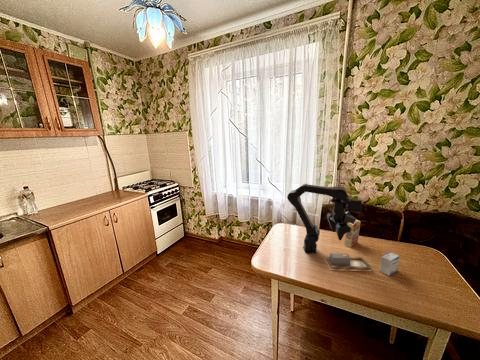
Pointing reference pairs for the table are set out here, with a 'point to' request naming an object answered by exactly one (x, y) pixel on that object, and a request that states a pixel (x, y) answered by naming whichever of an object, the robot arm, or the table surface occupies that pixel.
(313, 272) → the table surface
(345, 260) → the grey box with label
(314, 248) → the robot arm
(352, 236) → the candy box
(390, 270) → the medicine box
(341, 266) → the tray
